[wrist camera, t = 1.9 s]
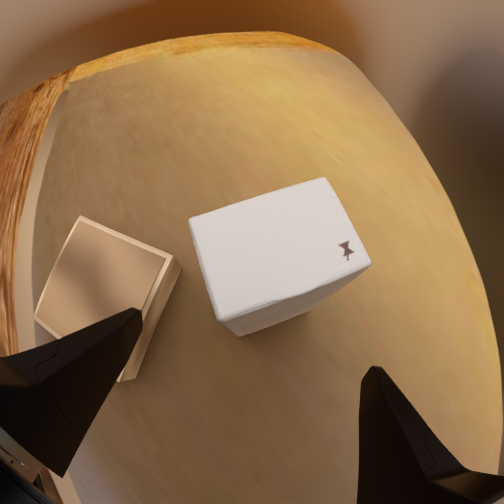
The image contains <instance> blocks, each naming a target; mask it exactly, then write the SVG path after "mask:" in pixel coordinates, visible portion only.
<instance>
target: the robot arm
mask: <svg viewBox="0 0 504 504" xmlns="http://www.w3.org/2000/svg"><path fill="white" fill-rule="evenodd" d="M142 330H143V317H142V311H141V310H139V309H136V308H134V307H131V308H129V309H126V310H124V311H122V312H119V313H117V314H115V315H112V316H110V317H108V318H106V319H103V320H101V321H99V322H96V323H94V324H92V325H89V326H87V327H85V328H82V329H80V330H78V331H75V332H73V333H71V334H68V335H66V336H64V337H62V338H61V339H57V340H54V341H52V342H50V343H47V344H45V345H42V346H39V347H36V348H34V349H30V350H27V351H24V352H21V353H17V354H14V355H11V356H7V357H0V504H58V503H57V502H55V501H54V500H52V499H51V498H50V497H48V496H47V495H46V494H45V491H44V488H43V485H42V482H41V479H40V475H39V471H40V470H41V468H42V466H43V465H45V466H46V467H47V468H49V469H50V470H51V471H53V472H54V473H56V474H57V475H58V476H60V477H61V478H63V476H64V475H65V472H66V471H67V469H68V467H69V465H70V463H71V461H72V459H73V457H74V455H75V453H76V451H77V449H78V448H79V446H80V444H81V442H82V440H83V438H84V436H85V434H86V433H87V431H88V429H89V427H90V425H91V424H92V422H93V420H94V418H95V416H96V415H97V413H98V411H99V409H100V408H101V406H102V404H103V402H104V401H105V399H106V397H107V396H108V394H109V392H110V391H111V389H112V387H113V385H114V384H115V382H116V380H117V379H118V377H119V375H120V374H121V372H122V371H123V369H124V367H125V366H126V364H127V362H128V360H129V358H130V356H131V354H132V352H133V350H134V348H135V345H136V343H137V341H138V339H139V337H140V335H141V333H142ZM357 504H504V476H500V475H493V474H487V473H481V472H476V471H471V470H469V469H467V468H465V467H464V466H462V465H461V464H460V463H459V461H458V460H457V459H456V458H455V457H454V456H453V455H452V454H451V453H450V452H449V451H448V449H447V448H446V447H445V446H444V445H443V444H442V443H441V442H440V440H439V439H438V438H437V437H436V435H435V434H434V433H433V432H432V430H431V429H430V428H429V427H428V425H427V424H426V422H425V421H424V420H423V419H422V417H421V416H420V415H419V413H418V412H417V411H416V410H415V408H414V407H413V406H412V404H411V403H410V402H409V401H408V399H407V398H406V397H405V395H404V394H403V393H402V392H401V390H400V389H399V388H398V387H397V385H396V384H395V383H394V382H393V380H392V379H391V378H390V377H389V375H388V374H387V373H386V372H385V370H384V369H383V368H382V367H380V366H371V367H370V369H369V370H368V372H367V373H366V374H365V376H364V377H363V379H362V381H361V392H360V406H359V474H358V493H357Z"/></svg>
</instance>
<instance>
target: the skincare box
mask: <svg viewBox="0 0 504 504" xmlns="http://www.w3.org/2000/svg"><path fill="white" fill-rule="evenodd" d="M188 223H189V228H190V231H191V235H192V239H193V243H194V247H195V250H196V254H197V257H198V261H199V264H200V268H201V271H202V274H203V278H204V281H205V284H206V288H207V291H208V294H209V297H210V300H211V303H212V306H213V309H214V312H215V315H216V318H217V320H218V321H219V322H220V323H222V324H223V325H224V326H226V327H227V328H228V329H229V330H230V331H232V332H233V333H234V334H235V335H236V336H237V337H241V336H244V335H247V334H250V333H253V332H256V331H259V330H262V329H265V328H267V327H270V326H273V325H275V324H278V323H281V322H283V321H286V320H288V319H291V318H293V317H296V316H298V315H301V314H303V313H306V312H308V311H310V310H311V309H313V308H314V307H316V306H317V305H319V304H320V303H322V302H323V301H324V300H326V299H327V298H328V297H330V296H331V295H333V294H334V293H335V292H337V291H338V290H340V289H341V288H342V287H344V286H345V285H346V284H348V283H349V282H351V281H352V280H353V279H355V278H356V277H357V276H359V275H360V274H361V273H362V272H364V271H365V270H366V269H367V268H368V267H370V265H371V264H372V261H371V259H370V257H369V255H368V253H367V251H366V249H365V247H364V246H363V244H362V242H361V240H360V238H359V236H358V234H357V232H356V230H355V229H354V227H353V225H352V223H351V221H350V219H349V217H348V215H347V213H346V212H345V210H344V208H343V206H342V204H341V202H340V201H339V199H338V197H337V195H336V194H335V192H334V190H333V189H332V187H331V185H330V184H329V182H328V181H327V179H326V178H325V177H321V178H318V179H314V180H310V181H307V182H303V183H300V184H296V185H292V186H289V187H286V188H282V189H279V190H276V191H272V192H269V193H266V194H263V195H260V196H257V197H254V198H250V199H247V200H244V201H241V202H238V203H235V204H232V205H229V206H226V207H223V208H220V209H217V210H214V211H211V212H208V213H205V214H202V215H199V216H196V217H192V218H190V219H189V220H188Z"/></svg>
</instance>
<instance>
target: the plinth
mask: <svg viewBox="0 0 504 504" xmlns="http://www.w3.org/2000/svg"><path fill="white" fill-rule="evenodd" d="M181 270H182V267H181V265H180V264H179V263H178V261H177V260H176V259H175V257H174V256H173V255H171V254H168V253H166V252H163V251H161V250H158V249H156V248H154V247H151V246H149V245H146V244H144V243H142V242H139V241H137V240H135V239H132V238H130V237H128V236H125V235H123V234H121V233H118V232H116V231H114V230H112V229H109V228H107V227H105V226H102V225H100V224H98V223H96V222H93V221H91V220H89V219H87V218H85V217H82V216H79V218H78V219H77V221H76V223H75V225H74V227H73V228H72V230H71V232H70V234H69V236H68V238H67V240H66V242H65V244H64V246H63V248H62V250H61V252H60V254H59V256H58V258H57V260H56V262H55V264H54V267H53V269H52V271H51V273H50V276H49V278H48V280H47V283H46V285H45V287H44V290H43V292H42V295H41V298H40V300H39V303H38V306H37V308H36V311H35V314H34V317H33V318H34V319H35V320H36V321H37V322H38V323H39V324H40V325H42V326H43V327H44V328H45V329H46V330H47V331H49V332H50V333H51V334H52V335H53V336H55V337H56V338H57V339H61V338H62V337H64V336H66V335H68V334H71V333H73V332H75V331H78V330H80V329H82V328H85V327H87V326H89V325H92V324H94V323H96V322H99V321H101V320H103V319H106V318H108V317H110V316H112V315H115V314H117V313H119V312H122V311H124V310H126V309H129V308H131V307H134V308H136V309H139V310H141V311H142V317H143V330H142V333H141V335H140V337H139V339H138V341H137V343H136V345H135V348H134V350H133V352H132V354H131V356H130V358H129V360H128V362H127V364H126V366H125V367H124V369H123V371H122V372H121V374H120V375H119V377H118V379H117V380H116V381H118V382H123V381H128V380H133V379H136V376H137V373H138V371H139V368H140V366H141V363H142V361H143V358H144V356H145V353H146V351H147V348H148V346H149V343H150V341H151V338H152V336H153V333H154V331H155V329H156V326H157V324H158V322H159V319H160V317H161V315H162V312H163V310H164V308H165V305H166V303H167V301H168V299H169V296H170V294H171V292H172V290H173V287H174V285H175V283H176V281H177V279H178V277H179V274H180V272H181Z"/></svg>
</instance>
